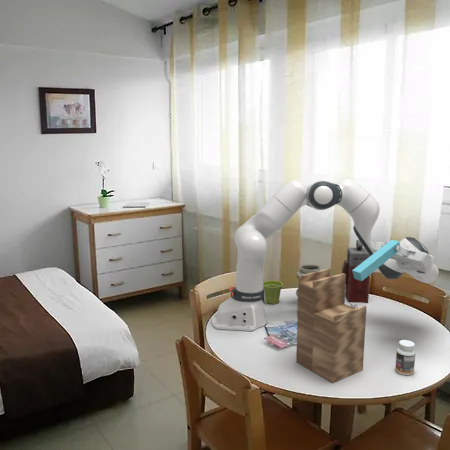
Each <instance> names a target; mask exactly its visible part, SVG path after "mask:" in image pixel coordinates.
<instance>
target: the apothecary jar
mask: <svg viewBox="0 0 450 450" xmlns="http://www.w3.org/2000/svg"><path fill="white" fill-rule="evenodd" d="M317 271H321V267H320V265H318V264H314V263H313V264H312V263H309V264H307V263H306V264H302V265H300V268H299V270H298V271H297V272H296V278H297V279H299V276H300V275H304V274H308V273H313V272H317ZM295 295H296V297H297V298H298V288H297V289H296V291H295Z"/></svg>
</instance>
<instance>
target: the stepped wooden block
mask: <svg viewBox="0 0 450 450" xmlns="http://www.w3.org/2000/svg"><path fill="white" fill-rule="evenodd" d="M331 272H332V271H331V268H325V269H320V271H317V272H313V273H308V274H304V275H300V276H299V279H298V278H297V279H298V281H297V282H298V286H297V289H298V297H297V316H296V317H297V321H296V322H297V323H296V359H295V362H296V363H297V364H299V365H301V366H302V367H304V368H306V369H307V370H309V371H311V372H313V373H314V374H316V375H317V376H320V377H322V378H324V379H325V380H327V381H328V382H330V383H332V384H334V383H337V382H338V381H341V380H344V379H346V378H348V377H350V376H352V375H355V374H357V373H359V372H362V371H363V370H364V357H365V356H364V355H365V341H366V340H365V339H366V338H365V337H366V324H367V323H366V322H367V320H366V319H367V305H362V306H360V307H359V306H358V308H357V307H355V306H353V307H352V306H351V305H348V304H345V298H346V296H345V290H346V284H345V281H346V274H344V273H342V272H341V273H340V274H339V273H338V274H335V275H331ZM354 307H355V308H354Z"/></svg>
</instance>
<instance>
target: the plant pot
mask: <svg viewBox="0 0 450 450" xmlns="http://www.w3.org/2000/svg"><path fill="white" fill-rule="evenodd" d="M283 284H284V283H283V282H281V281H279V280H266V281H264V282H263V288H264V291H265V300H264V303H266V304H272V305H276V304H278V303H280V297H281V290H282V287H283Z"/></svg>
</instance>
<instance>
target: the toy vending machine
mask: <svg viewBox="0 0 450 450" xmlns="http://www.w3.org/2000/svg"><path fill="white" fill-rule="evenodd" d="M346 252H347V253H346V254H347V255H346V260H344V261H343V263H342V266H341V267H342V268H341V274H342V273H344V274H346V281H345V298H346V301H347V303H349V302H350V303H353V304H354V303H356V304H361V303H362V304H368V303H369V294H370V291H369V290H370V277H371V276H370V275H371V274H370V275H369V276H368V277H366V278H365V279H364V280H363V281H360V280H357V279H354V276H353V272H352V270H353V269H355V268H356V267H357V266H359V265H360V264H361V263H362V262H364V261H365V260H366V259H367V258H369V257H370V255H369V253H368V252H367V250H366V249H365V248H364V246H363V245H362V243H361V242H360V240H359V239H356V243H355V247H348V248H347V251H346Z"/></svg>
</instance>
